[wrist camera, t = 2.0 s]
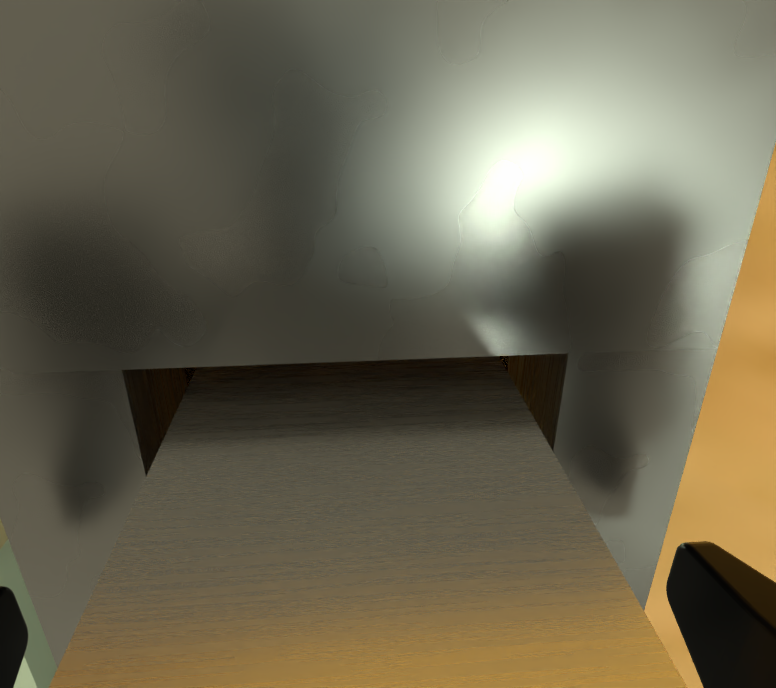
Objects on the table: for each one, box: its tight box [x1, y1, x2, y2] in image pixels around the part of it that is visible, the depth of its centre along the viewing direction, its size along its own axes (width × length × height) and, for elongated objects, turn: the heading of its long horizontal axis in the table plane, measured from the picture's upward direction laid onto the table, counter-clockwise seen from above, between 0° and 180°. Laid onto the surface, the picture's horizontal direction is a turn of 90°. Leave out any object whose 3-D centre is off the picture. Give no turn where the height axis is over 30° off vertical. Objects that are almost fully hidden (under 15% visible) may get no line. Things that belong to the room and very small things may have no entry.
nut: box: [49, 356, 687, 688], centre depth 7 cm, size 5×5×8 cm
